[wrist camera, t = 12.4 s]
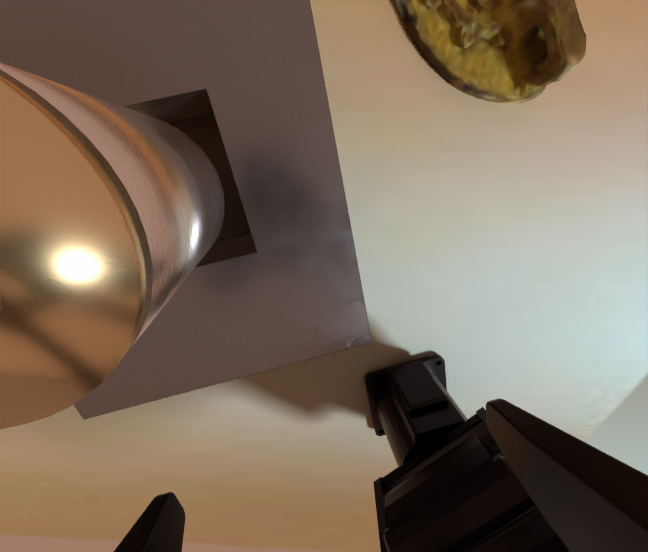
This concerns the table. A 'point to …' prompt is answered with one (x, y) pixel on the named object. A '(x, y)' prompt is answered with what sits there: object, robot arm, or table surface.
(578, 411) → the table surface
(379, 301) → the table surface
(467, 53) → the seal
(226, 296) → the housing
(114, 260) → the end cover
